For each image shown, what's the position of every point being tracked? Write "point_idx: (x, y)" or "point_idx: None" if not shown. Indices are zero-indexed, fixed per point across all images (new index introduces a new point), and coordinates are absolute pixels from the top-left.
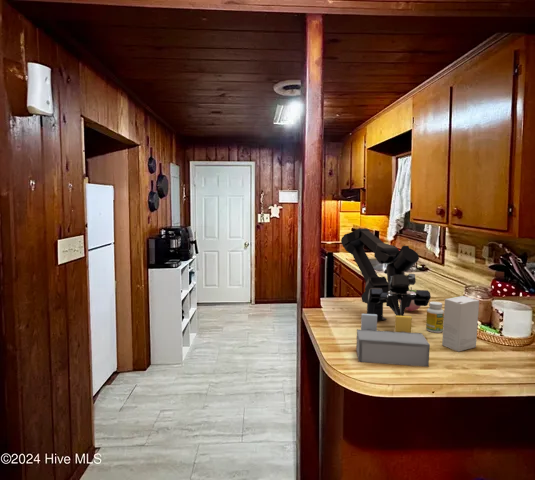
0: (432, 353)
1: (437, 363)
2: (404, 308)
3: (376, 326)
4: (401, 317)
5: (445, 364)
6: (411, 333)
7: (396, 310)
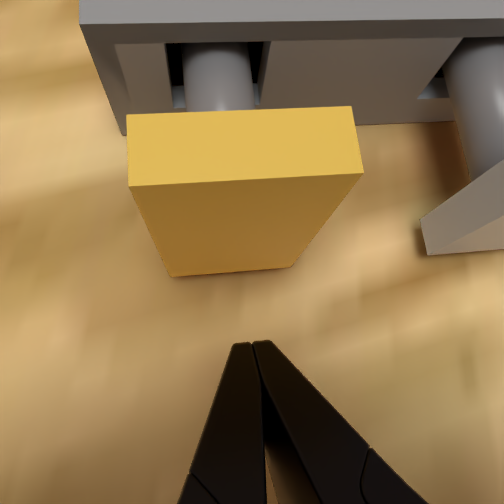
0: (34, 161)
1: (51, 17)
2: (198, 486)
3: (498, 164)
4: (276, 114)
5: (6, 12)
6: (179, 5)
7: (354, 435)
